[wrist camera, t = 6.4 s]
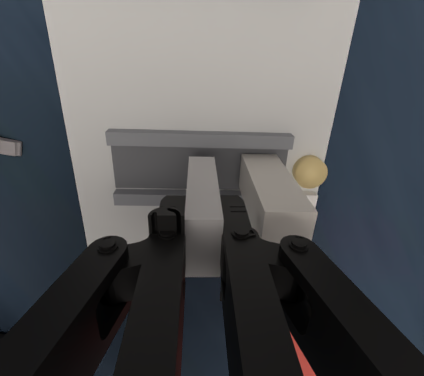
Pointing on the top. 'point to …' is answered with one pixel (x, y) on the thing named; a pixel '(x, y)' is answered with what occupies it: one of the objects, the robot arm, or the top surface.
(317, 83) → the panel
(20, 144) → the caliper
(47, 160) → the top surface
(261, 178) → the block
